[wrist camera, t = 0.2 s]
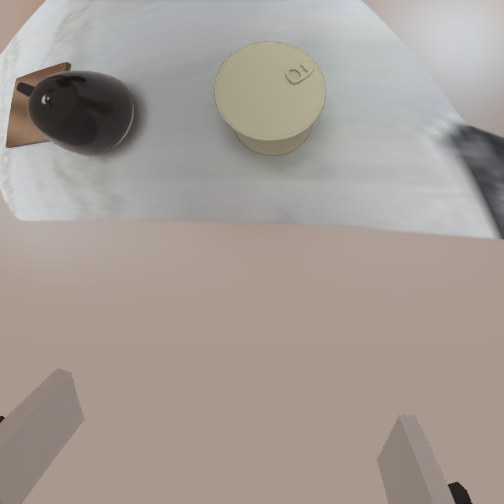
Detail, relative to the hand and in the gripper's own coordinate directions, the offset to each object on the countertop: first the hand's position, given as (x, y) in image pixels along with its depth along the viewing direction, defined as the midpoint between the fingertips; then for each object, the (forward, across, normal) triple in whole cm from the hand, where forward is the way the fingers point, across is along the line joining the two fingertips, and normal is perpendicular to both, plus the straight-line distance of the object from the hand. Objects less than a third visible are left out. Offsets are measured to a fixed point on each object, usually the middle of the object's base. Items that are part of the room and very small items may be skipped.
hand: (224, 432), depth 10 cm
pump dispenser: (+28, -21, +16) cm, 39 cm away
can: (+28, 0, +17) cm, 33 cm away
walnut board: (+28, -36, +20) cm, 50 cm away
